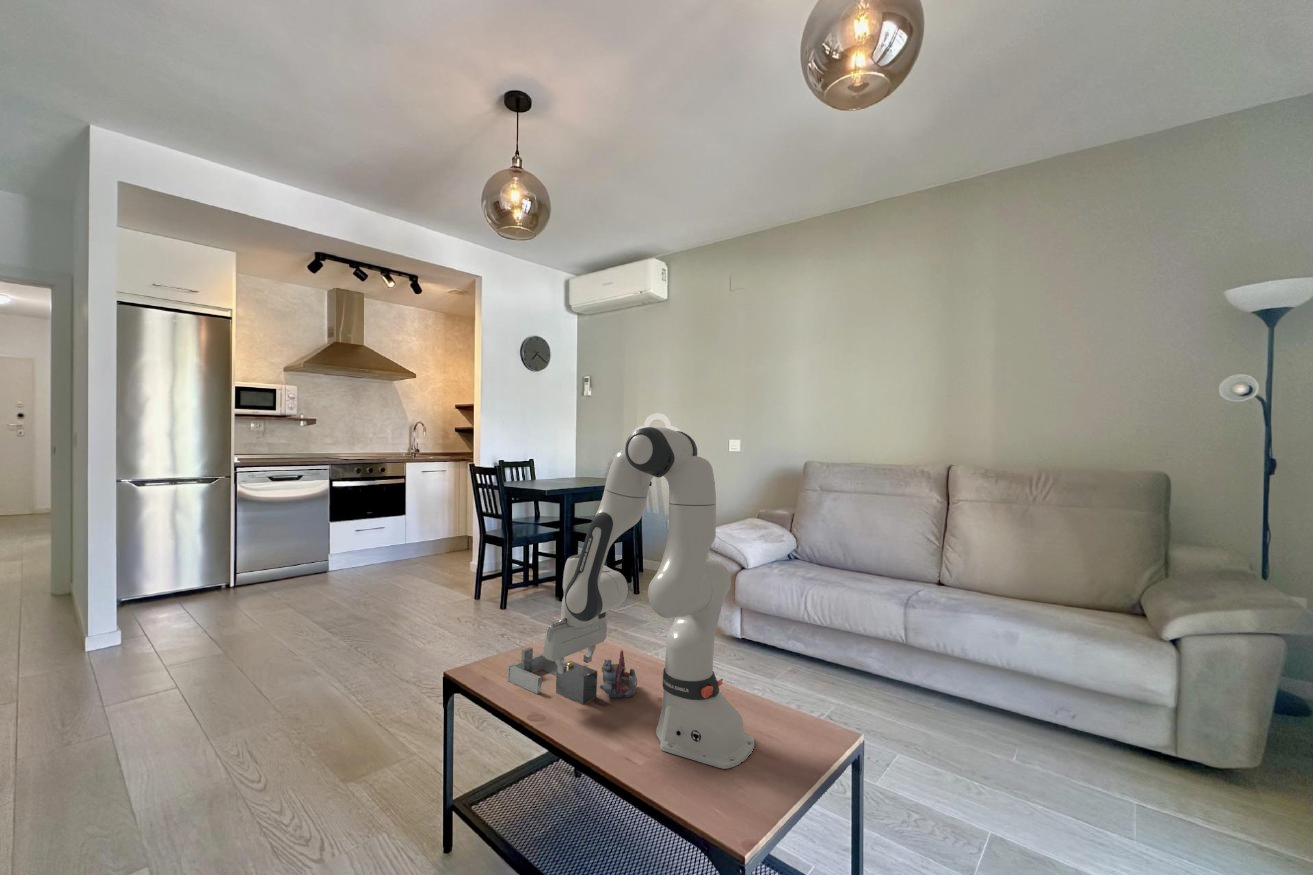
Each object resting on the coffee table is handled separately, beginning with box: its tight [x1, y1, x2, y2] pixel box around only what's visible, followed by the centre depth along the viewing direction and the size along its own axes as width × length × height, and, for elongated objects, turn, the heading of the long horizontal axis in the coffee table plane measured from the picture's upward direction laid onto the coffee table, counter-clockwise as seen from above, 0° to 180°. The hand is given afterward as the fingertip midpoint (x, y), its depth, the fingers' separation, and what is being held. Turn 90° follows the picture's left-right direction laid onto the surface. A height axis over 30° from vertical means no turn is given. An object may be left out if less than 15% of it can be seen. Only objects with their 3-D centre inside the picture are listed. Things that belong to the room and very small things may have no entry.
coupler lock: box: [555, 660, 598, 705], centre depth 138 cm, size 10×5×8 cm, turn 53°
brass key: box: [601, 665, 627, 673], centre depth 153 cm, size 7×3×2 cm, turn 78°
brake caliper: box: [599, 649, 638, 699], centre depth 141 cm, size 11×11×12 cm
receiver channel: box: [506, 646, 568, 695], centre depth 147 cm, size 13×12×7 cm
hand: (574, 667), depth 139 cm, fingers open, 8 cm apart
